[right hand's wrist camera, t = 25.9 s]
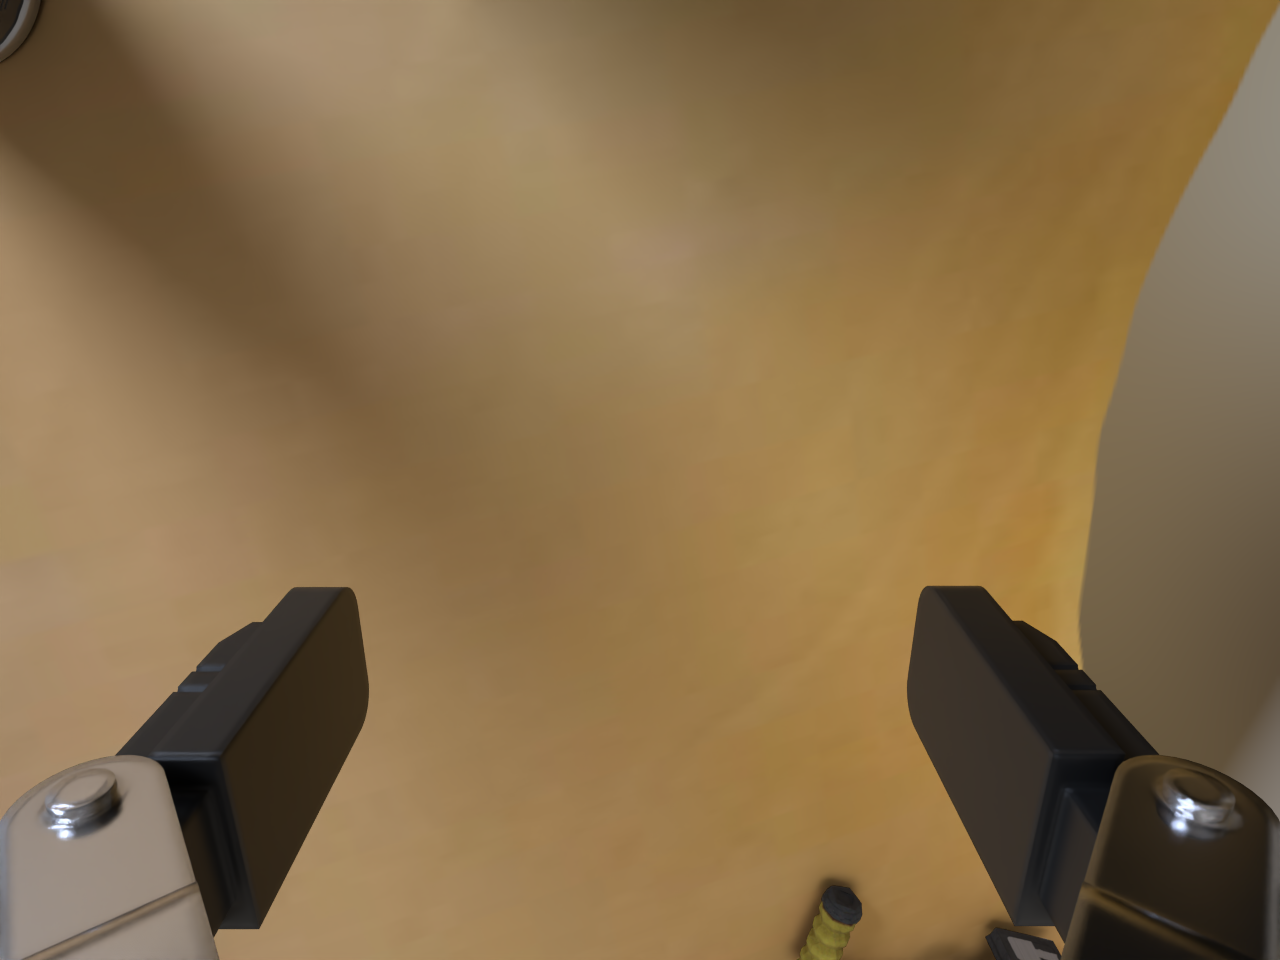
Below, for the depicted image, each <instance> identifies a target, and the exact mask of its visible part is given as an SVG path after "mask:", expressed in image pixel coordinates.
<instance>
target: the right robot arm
mask: <svg viewBox="0 0 1280 960" xmlns="http://www.w3.org/2000/svg"><path fill="white" fill-rule="evenodd" d="M40 1H41V0H0V62H1V61H2V60H4V59H5V58H7V57H8V56H10V55H11V54H12V53H13V52H14V51H15V50H16V49H17V48H19V46H20V45H21V44H22V43H23V41H24V40H25V39H26V37H27V36H28V34H29V32H30V31H31V29H32V26H33V24H34V22H35V20H36V17H37V14H38V10H39V6H40ZM907 698H908V707H909V712H910V716H911V720H912V723H913V725H914V727H915V729H916V731H917V733H918V735H919V737H920V739H921V741H922V743H923V745H924V747H925V749H926V751H927V753H928V755H929V757H930V759H931V761H932V763H933V765H934V767H935V769H936V771H937V773H938V775H939V777H940V779H941V781H942V783H943V785H944V787H945V789H946V791H947V793H948V795H949V797H950V799H951V801H952V803H953V805H954V807H955V809H956V811H957V813H958V815H959V817H960V819H961V821H962V823H963V825H964V827H965V829H966V830H967V832H968V834H969V836H970V838H971V840H972V842H973V844H974V846H975V848H976V850H977V852H978V854H979V856H980V858H981V860H982V862H983V864H984V866H985V868H986V870H987V872H988V874H989V876H990V878H991V880H992V882H993V884H994V886H995V888H996V890H997V892H998V894H999V896H1000V898H1001V900H1002V902H1003V904H1004V906H1005V908H1006V910H1007V912H1008V914H1009V916H1010V918H1011V920H1012V922H1013V924H1014V926H1055V927H1056V929H1057V931H1058V932H1059V934H1060V936H1061V938H1062V940H1063V941H1064V943H1065V945H1064V949H1063V952H1062V956H1061V959H1060V960H1280V821H1279V819H1278V817H1277V816H1276V815H1275V813H1274V812H1273V810H1272V809H1271V808H1270V807H1269V806H1268V805H1267V804H1266V803H1265V802H1264V801H1263V800H1262V799H1261V798H1260V797H1259V796H1257V795H1256V794H1255V793H1254V792H1253V791H1251V790H1250V789H1248V788H1247V787H1245V786H1244V785H1243V784H1241V783H1239V782H1238V781H1236V780H1234V779H1232V778H1231V777H1229V776H1227V775H1225V774H1223V773H1221V772H1219V771H1217V770H1214V769H1212V768H1209V767H1207V766H1204V765H1202V764H1199V763H1195V762H1192V761H1189V760H1185V759H1181V758H1176V757H1170V756H1163V755H1159V754H1158V753H1157V752H1156V750H1155V749H1154V748H1153V747H1152V746H1151V745H1150V744H1149V743H1148V742H1147V741H1146V739H1145V738H1144V737H1143V736H1142V735H1141V734H1140V733H1139V732H1138V731H1137V730H1136V728H1135V727H1134V726H1133V725H1132V724H1131V723H1130V722H1129V721H1128V720H1127V719H1126V717H1125V716H1124V715H1123V714H1122V713H1121V712H1120V711H1119V710H1118V709H1117V708H1116V706H1115V705H1114V704H1113V703H1112V702H1111V701H1110V700H1109V699H1108V698H1107V697H1106V695H1105V694H1104V693H1103V692H1102V691H1101V690H1096V684H1095V683H1094V682H1093V681H1092V680H1091V679H1090V678H1089V677H1088V676H1087V675H1086V673H1085V672H1084V671H1083V670H1078V665H1077V664H1076V662H1075V661H1074V660H1073V659H1072V658H1071V657H1070V656H1069V655H1068V654H1067V653H1066V651H1065V650H1064V649H1063V648H1062V647H1061V646H1060V645H1059V644H1058V643H1057V642H1056V641H1055V640H1053V639H1052V638H1050V637H1048V636H1047V635H1045V634H1044V633H1042V632H1040V631H1039V630H1037V629H1035V628H1034V627H1032V626H1030V625H1029V624H1027V623H1025V622H1024V621H1012V620H1011V619H1010V617H1009V616H1008V615H1007V614H1006V613H1005V612H1004V610H1003V609H1002V608H1001V607H1000V606H999V605H998V603H997V602H996V601H995V600H994V599H993V597H992V596H991V595H990V594H989V593H988V592H987V590H986V589H984V588H983V587H981V586H926V587H925V588H924V589H923V590H922V592H921V594H920V598H919V602H918V608H917V615H916V622H915V630H914V637H913V644H912V651H911V658H910V665H909V672H908V680H907ZM368 699H369V683H368V675H367V668H366V661H365V653H364V646H363V639H362V632H361V625H360V618H359V611H358V605H357V600H356V596H355V594H354V592H353V591H352V589H350V588H348V587H295V588H293V589H291V590H290V591H289V592H288V593H287V594H286V596H285V597H284V598H283V599H282V600H281V601H280V603H279V604H278V605H277V606H276V607H275V608H274V609H273V611H272V612H271V613H270V614H269V615H268V616H267V618H266V619H265V620H264V621H263V622H252V623H250V624H249V625H247V626H245V627H244V628H242V629H240V630H239V631H237V632H236V633H234V634H232V635H231V636H229V637H227V638H226V639H224V640H222V641H221V642H219V643H218V644H217V645H216V646H215V647H214V648H213V649H212V650H211V652H210V653H209V654H208V655H207V656H206V657H205V658H204V659H203V660H202V661H201V662H200V664H199V665H198V666H197V670H196V672H191V673H190V674H189V676H188V677H187V678H186V679H185V680H184V681H183V682H182V683H181V684H180V685H179V686H178V692H173V693H172V694H171V695H170V696H169V697H168V698H167V700H166V701H165V702H164V703H163V704H162V705H161V706H160V707H159V708H158V709H157V710H156V712H155V713H154V714H153V715H152V716H151V717H150V718H149V719H148V720H147V721H146V722H145V724H144V725H143V726H142V727H141V728H140V729H139V730H138V731H137V732H136V733H135V734H134V736H133V737H132V738H131V739H130V740H129V741H128V742H127V743H126V744H125V745H124V746H123V747H122V749H121V750H120V751H119V752H118V753H117V754H116V755H115V756H110V757H104V758H99V759H95V760H91V761H88V762H84V763H81V764H78V765H76V766H73V767H71V768H68V769H65V770H63V771H61V772H59V773H57V774H55V775H53V776H51V777H49V778H48V779H46V780H44V781H42V782H41V783H39V784H37V785H36V786H35V787H33V788H32V789H30V790H29V791H27V792H26V793H25V794H24V795H23V796H21V797H20V798H19V799H18V800H17V801H16V802H15V803H14V804H13V805H12V806H11V807H10V808H9V809H8V810H7V812H6V813H5V815H4V816H3V817H2V819H1V821H0V960H220V959H219V956H218V952H217V949H216V945H215V942H214V936H215V934H216V933H217V931H218V929H259V928H260V926H261V924H262V922H263V921H264V919H265V917H266V915H267V913H268V911H269V909H270V907H271V905H272V903H273V901H274V899H275V897H276V895H277V893H278V891H279V889H280V887H281V885H282V883H283V881H284V879H285V877H286V875H287V874H288V872H289V870H290V868H291V866H292V864H293V862H294V860H295V858H296V856H297V854H298V852H299V850H300V848H301V846H302V844H303V842H304V840H305V838H306V836H307V834H308V832H309V830H310V829H311V827H312V825H313V823H314V821H315V819H316V817H317V815H318V813H319V811H320V809H321V807H322V805H323V803H324V801H325V799H326V797H327V795H328V793H329V791H330V789H331V787H332V785H333V783H334V782H335V780H336V778H337V776H338V774H339V772H340V770H341V768H342V766H343V764H344V762H345V760H346V758H347V756H348V754H349V752H350V750H351V748H352V746H353V744H354V742H355V740H356V738H357V736H358V735H359V733H360V731H361V729H362V726H363V724H364V721H365V717H366V713H367V707H368Z"/></svg>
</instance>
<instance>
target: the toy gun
mask: <svg viewBox="0 0 1280 960" xmlns="http://www.w3.org/2000/svg"><path fill="white" fill-rule="evenodd" d="M819 910H820V914H818V915H817V916H815V917H814V921H813V928H812V929H811V930H810V932H809V934H808V937H807V940H806V942H807V944H806V945H805V946H803V947H802V949H801V952H800V958H799V959H797V960H840V958H841V956H842V955H843V947H846V945H847V943H848V940H849V938H850V933H849V932H851V931H853V929H854V927H855V924H856V923H857V922H858V921H859V920H860V919H861V916H862V903H861V902H860V901H859V899H858V898H857V897H856V895H855V894H854V893H853V892H852V890H851V889H850V888H847V887H840V886H831V887H830V888H828V889H827V890H826V891H825V893H824V894H823V896H822V902H821V904H820V906H819ZM986 940H987V942H988V944H989V946H990V948H991V950H992V952H993V954H994V957H995V959H996V960H1060V959H1061V955H1060V953H1059V951H1058V949H1057V947H1056V946H1055V944H1054V942H1053V941H1051V940H1047V939H1043V938H1039V937H1035V936H1031V935H1026V934H1022V933H1018V932H1013V931H1009V930H1005V929H1000V928H995V929H994V930H993V931H992V933H991V934H990V935H988V936H986Z"/></svg>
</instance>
